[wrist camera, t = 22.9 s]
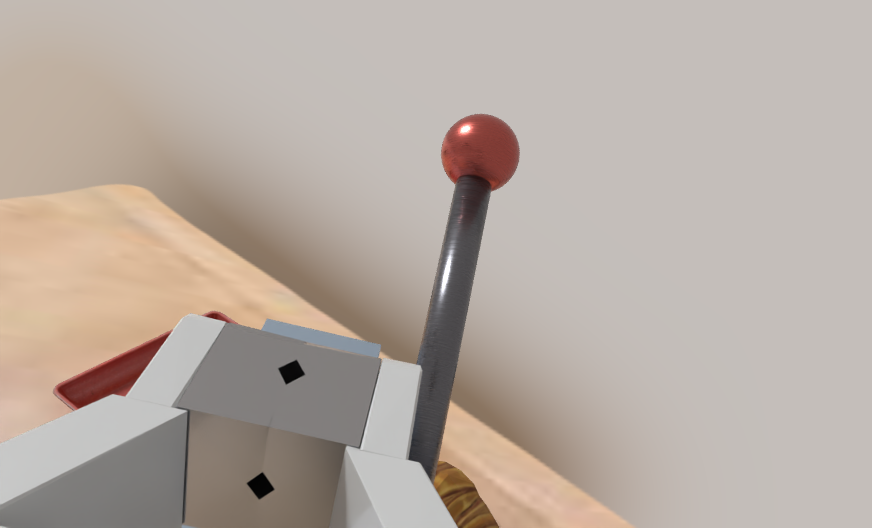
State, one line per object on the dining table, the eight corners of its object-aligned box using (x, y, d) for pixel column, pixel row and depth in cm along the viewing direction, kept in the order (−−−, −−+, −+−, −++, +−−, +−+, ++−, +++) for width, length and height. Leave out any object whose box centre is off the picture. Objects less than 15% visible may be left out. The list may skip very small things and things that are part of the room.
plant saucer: (49, 414, 60) (47, 386, 59) (213, 331, 74) (215, 306, 73) (190, 537, 53) (192, 509, 52) (342, 420, 67) (347, 394, 66)
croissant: (352, 487, 61) (361, 447, 58) (402, 449, 66) (413, 411, 63) (473, 592, 55) (489, 552, 52) (518, 542, 60) (535, 504, 57)
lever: (448, 588, 26) (533, 109, 34) (345, 565, 26) (455, 90, 34) (435, 579, 30) (515, 149, 38) (345, 560, 30) (444, 132, 38)
